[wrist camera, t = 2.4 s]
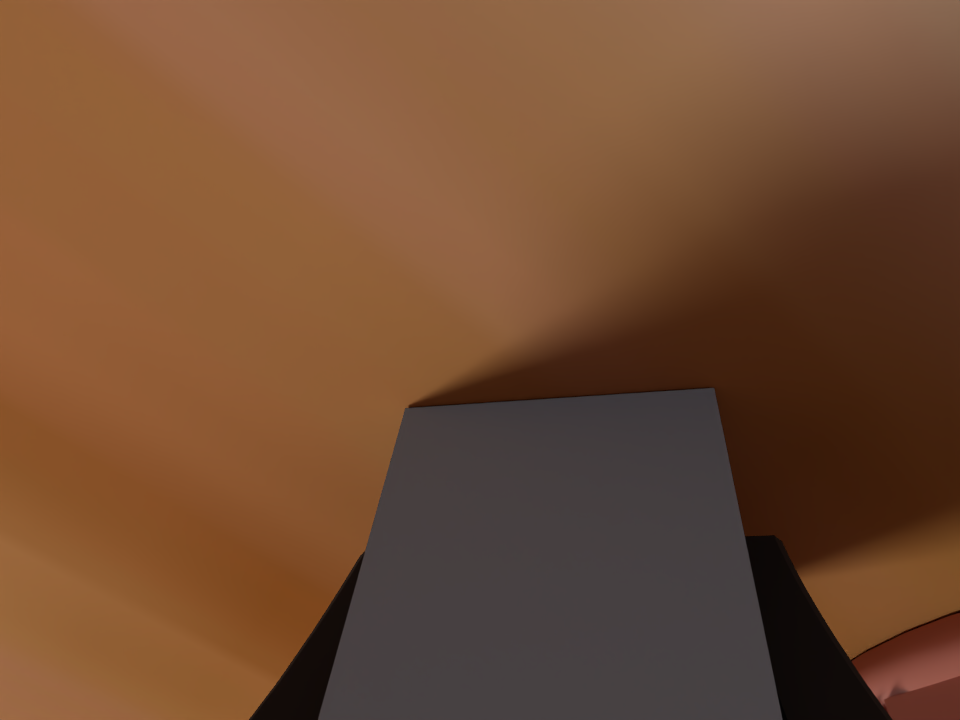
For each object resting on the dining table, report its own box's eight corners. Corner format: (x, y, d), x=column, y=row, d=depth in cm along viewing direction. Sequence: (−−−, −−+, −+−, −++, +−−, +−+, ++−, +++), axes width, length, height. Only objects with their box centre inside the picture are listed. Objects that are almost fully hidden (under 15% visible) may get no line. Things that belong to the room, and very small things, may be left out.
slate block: (715, 599, 14) (782, 1025, 10) (457, 605, 15) (397, 1002, 10) (714, 387, 12) (802, 819, 7) (405, 407, 13) (292, 810, 8)
